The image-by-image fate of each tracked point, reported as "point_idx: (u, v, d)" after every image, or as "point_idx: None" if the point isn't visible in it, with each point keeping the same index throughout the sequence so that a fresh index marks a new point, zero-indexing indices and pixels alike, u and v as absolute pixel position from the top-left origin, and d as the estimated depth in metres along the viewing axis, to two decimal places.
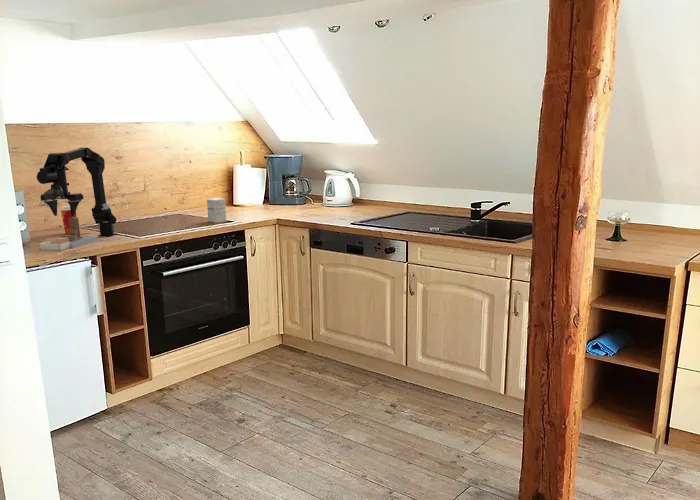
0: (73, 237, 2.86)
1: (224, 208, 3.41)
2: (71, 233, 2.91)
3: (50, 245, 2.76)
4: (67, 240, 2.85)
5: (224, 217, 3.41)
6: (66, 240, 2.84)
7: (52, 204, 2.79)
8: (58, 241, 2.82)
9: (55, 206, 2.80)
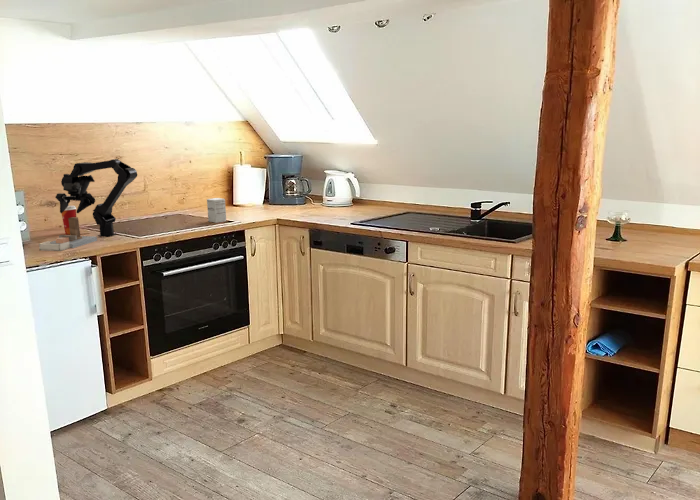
0: (73, 237, 2.86)
1: (224, 208, 3.41)
2: (71, 233, 2.91)
3: (50, 245, 2.76)
4: (67, 240, 2.85)
5: (224, 217, 3.41)
6: (66, 240, 2.84)
7: (63, 203, 2.99)
8: (58, 241, 2.82)
9: (64, 206, 3.00)
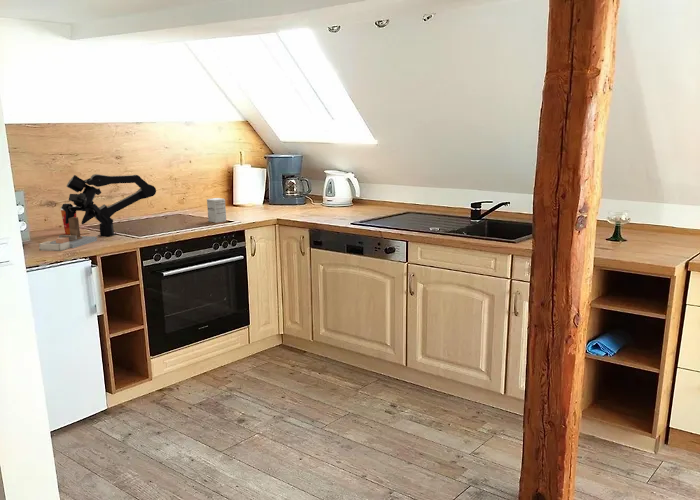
0: (73, 237, 2.86)
1: (224, 208, 3.41)
2: (71, 233, 2.91)
3: (50, 245, 2.76)
4: (67, 240, 2.85)
5: (224, 217, 3.41)
6: (66, 240, 2.84)
7: (69, 213, 2.96)
8: (58, 241, 2.82)
9: (70, 217, 2.96)
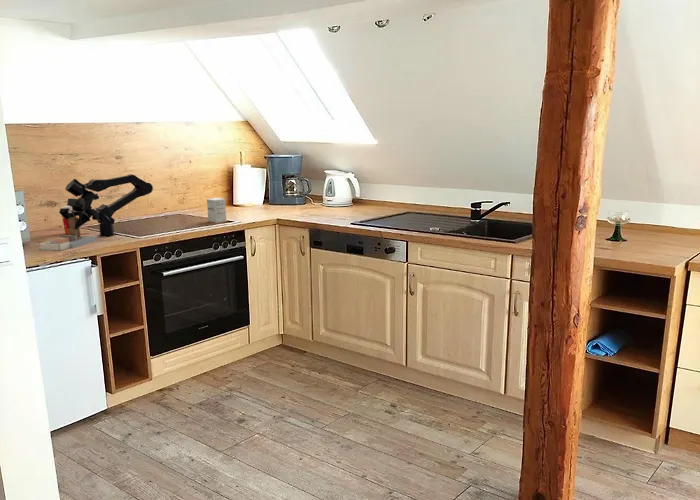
0: (73, 237, 2.86)
1: (224, 208, 3.41)
2: (71, 233, 2.91)
3: (50, 245, 2.76)
4: (67, 240, 2.85)
5: (224, 217, 3.41)
6: (66, 240, 2.84)
7: None
8: (58, 241, 2.82)
9: None
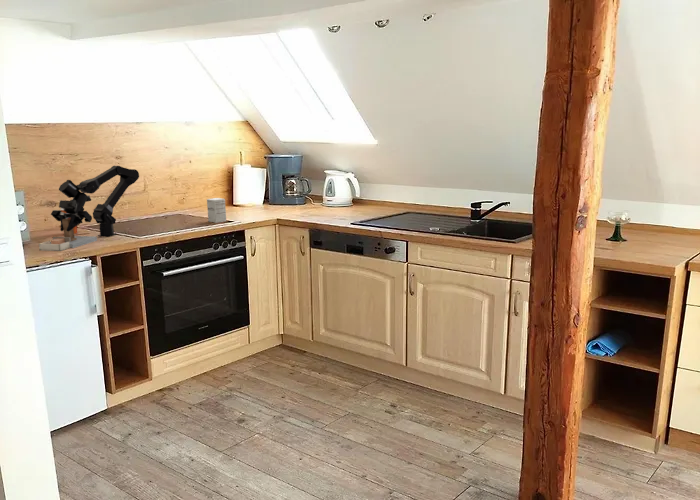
0: (67, 239, 2.82)
1: (224, 208, 3.41)
2: (65, 235, 2.87)
3: (50, 245, 2.76)
4: (63, 241, 2.82)
5: (224, 217, 3.41)
6: (62, 241, 2.81)
7: None
8: (54, 243, 2.80)
9: None
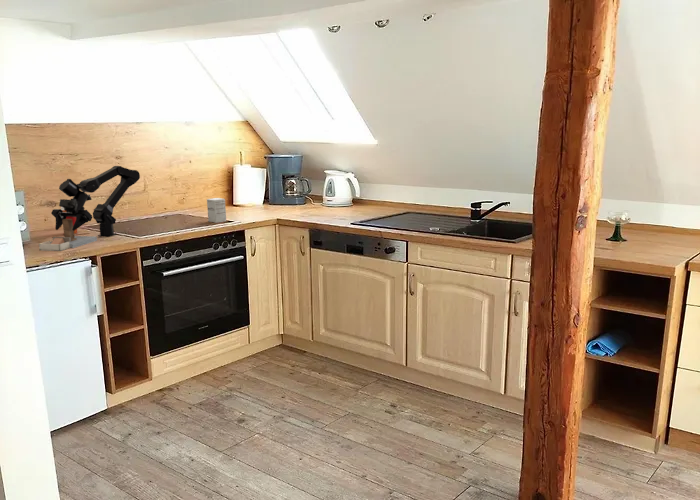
0: (67, 239, 2.82)
1: (224, 208, 3.41)
2: (65, 235, 2.87)
3: (50, 245, 2.76)
4: (62, 241, 2.81)
5: (224, 217, 3.41)
6: (61, 242, 2.81)
7: (59, 219, 2.89)
8: None
9: (60, 223, 2.89)
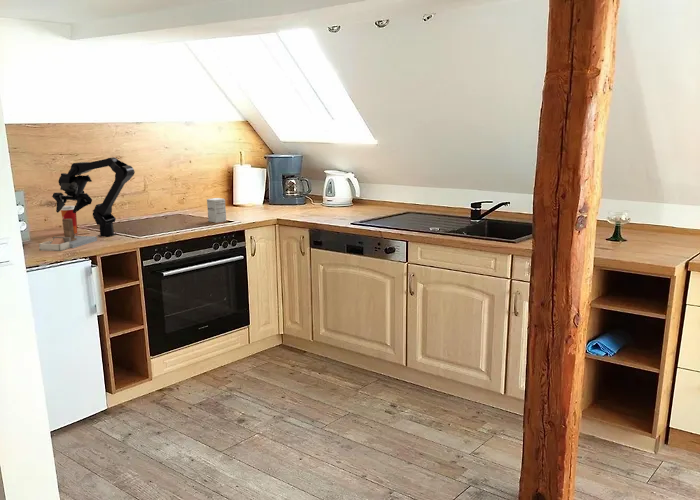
0: (67, 239, 2.82)
1: (224, 208, 3.41)
2: (65, 235, 2.87)
3: (50, 245, 2.76)
4: (62, 241, 2.81)
5: (224, 217, 3.41)
6: (61, 242, 2.81)
7: (60, 202, 3.00)
8: None
9: (61, 206, 3.00)
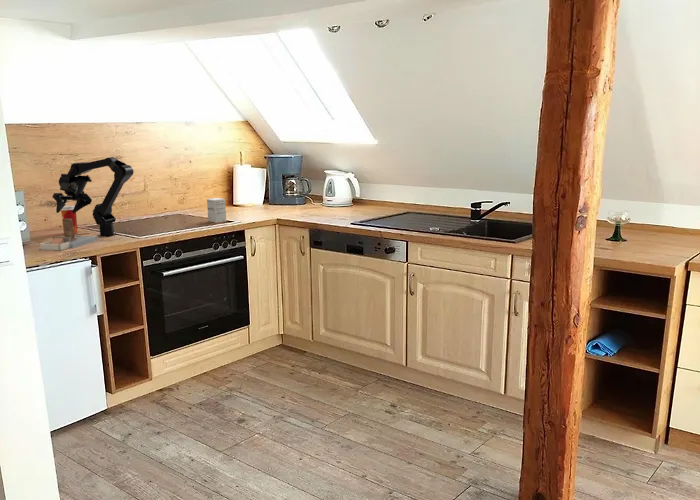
0: (67, 239, 2.82)
1: (224, 208, 3.41)
2: (65, 235, 2.87)
3: (50, 245, 2.76)
4: (62, 241, 2.81)
5: (224, 217, 3.41)
6: (61, 242, 2.81)
7: (60, 202, 3.00)
8: None
9: (61, 206, 3.01)
